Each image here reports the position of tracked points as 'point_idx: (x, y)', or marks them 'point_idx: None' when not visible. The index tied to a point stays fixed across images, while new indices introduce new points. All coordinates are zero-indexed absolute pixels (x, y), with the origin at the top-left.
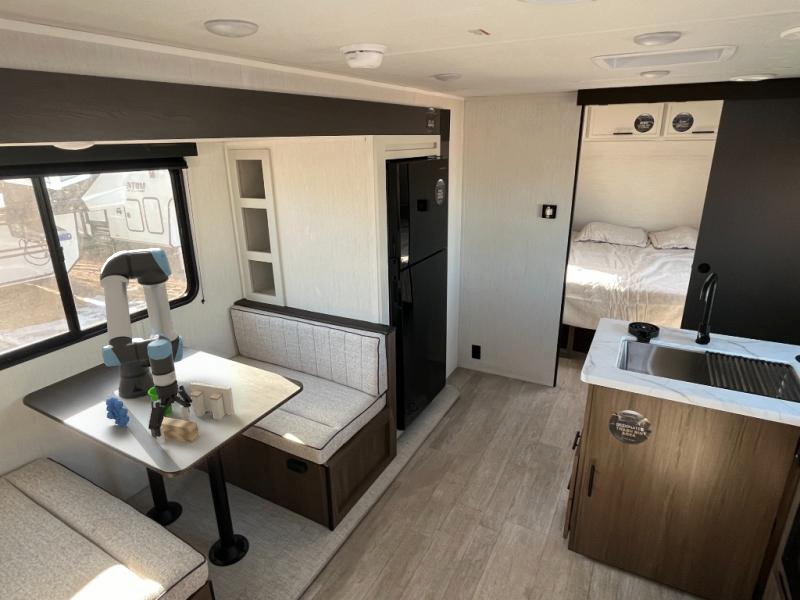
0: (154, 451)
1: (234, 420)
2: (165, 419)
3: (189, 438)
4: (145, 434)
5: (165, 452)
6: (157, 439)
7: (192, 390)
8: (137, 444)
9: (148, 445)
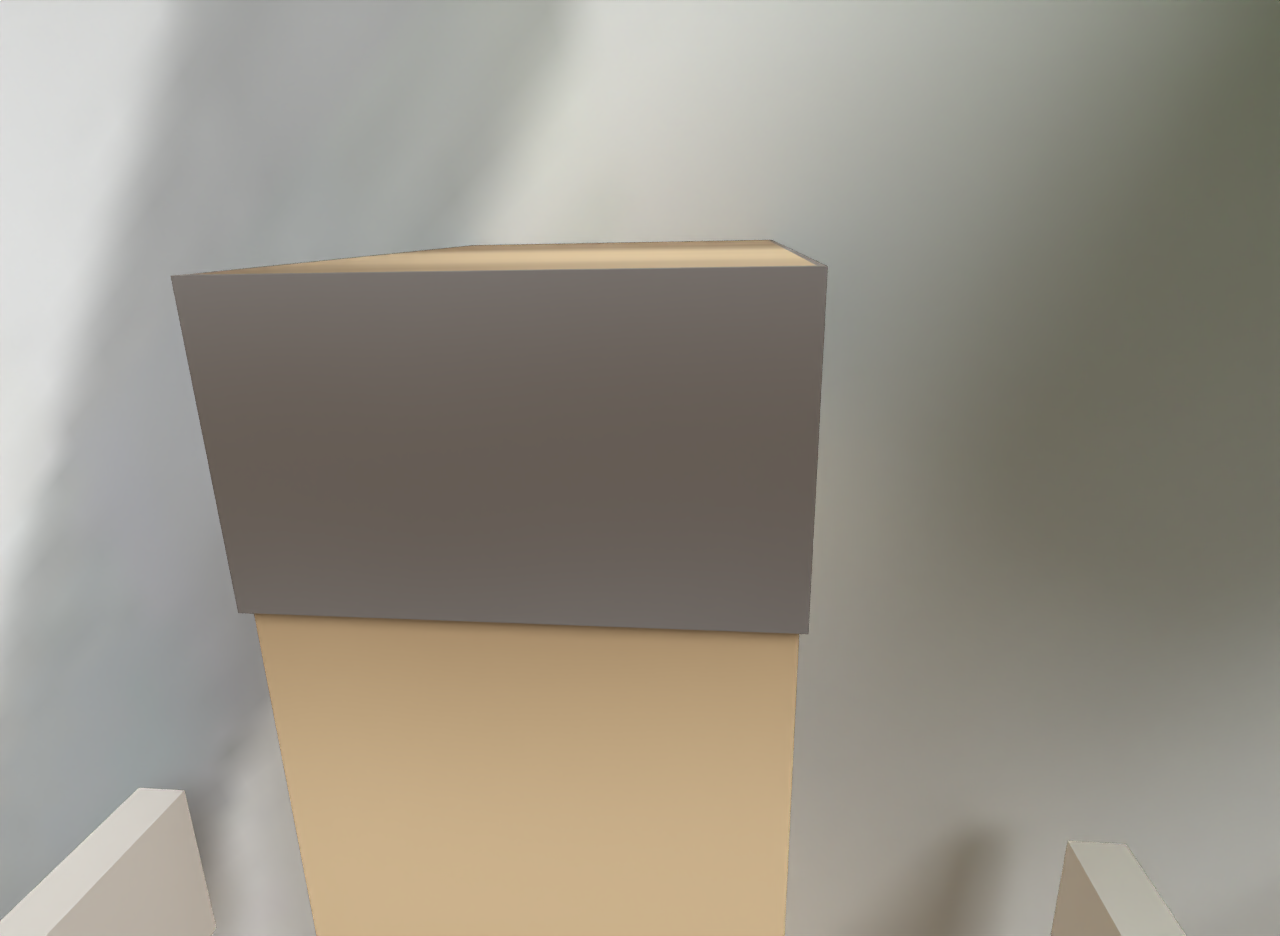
0: (91, 724)
1: None
2: (620, 916)
3: None
4: (440, 34)
5: None
6: (74, 858)
7: None
8: (59, 195)
9: (156, 482)
